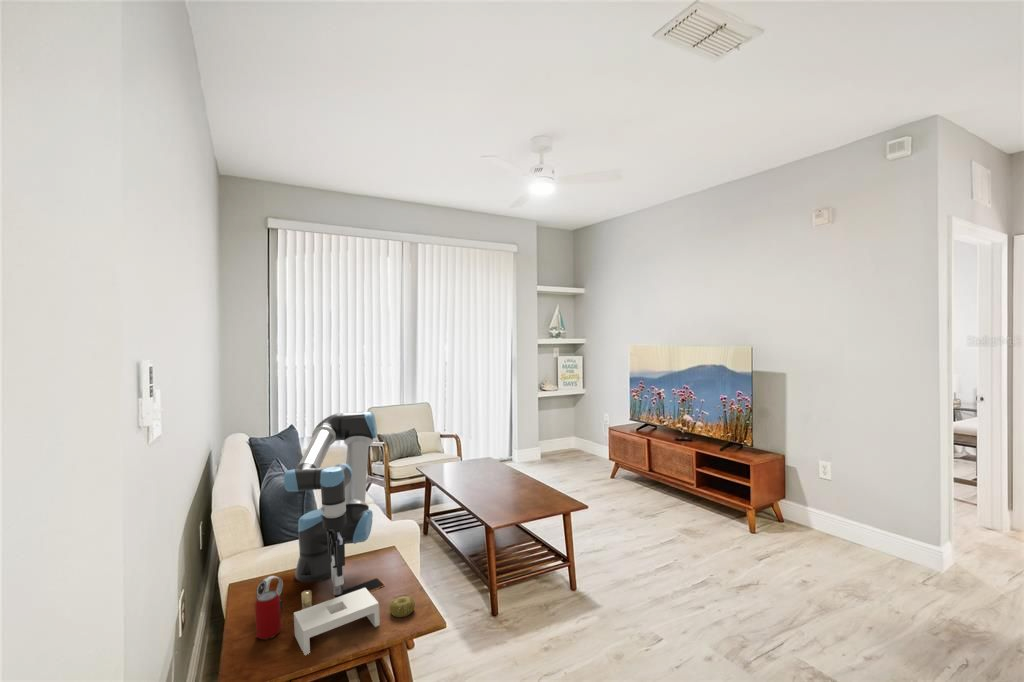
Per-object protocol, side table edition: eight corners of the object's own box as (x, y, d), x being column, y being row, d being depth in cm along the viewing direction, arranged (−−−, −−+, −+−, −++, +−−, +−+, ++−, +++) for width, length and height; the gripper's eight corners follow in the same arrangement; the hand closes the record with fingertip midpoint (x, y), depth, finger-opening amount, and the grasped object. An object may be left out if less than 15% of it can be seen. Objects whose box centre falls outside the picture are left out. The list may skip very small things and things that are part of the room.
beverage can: (281, 625, 151) (279, 587, 151) (281, 636, 145) (279, 597, 145) (256, 632, 148) (254, 593, 148) (256, 644, 142) (254, 603, 142)
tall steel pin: (332, 592, 164) (330, 554, 163) (341, 589, 166) (339, 552, 165) (335, 596, 161) (333, 557, 161) (344, 592, 163) (342, 555, 163)
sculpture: (400, 591, 161) (419, 596, 157) (401, 603, 161) (420, 609, 157) (383, 603, 154) (403, 609, 150) (384, 616, 154) (403, 622, 150)
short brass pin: (301, 613, 157) (300, 592, 157) (311, 609, 159) (309, 588, 159) (303, 617, 155) (302, 595, 155) (313, 613, 157) (312, 592, 157)
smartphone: (331, 596, 168) (331, 593, 168) (377, 579, 178) (377, 577, 178) (338, 605, 162) (338, 602, 162) (385, 587, 172) (385, 585, 172)
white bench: (294, 635, 146) (293, 612, 145) (366, 608, 159) (365, 587, 159) (304, 655, 136) (303, 631, 136) (379, 625, 149) (378, 602, 149)
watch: (254, 614, 158) (253, 581, 158) (278, 602, 165) (276, 570, 165) (263, 619, 155) (261, 585, 155) (287, 607, 162) (285, 574, 161)
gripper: (316, 510, 167) (319, 577, 168) (329, 524, 154) (333, 596, 155) (338, 504, 171) (341, 569, 172) (353, 518, 159) (356, 588, 159)
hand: (337, 582), depth 163 cm, fingers closed on tall steel pin, 3 cm apart
